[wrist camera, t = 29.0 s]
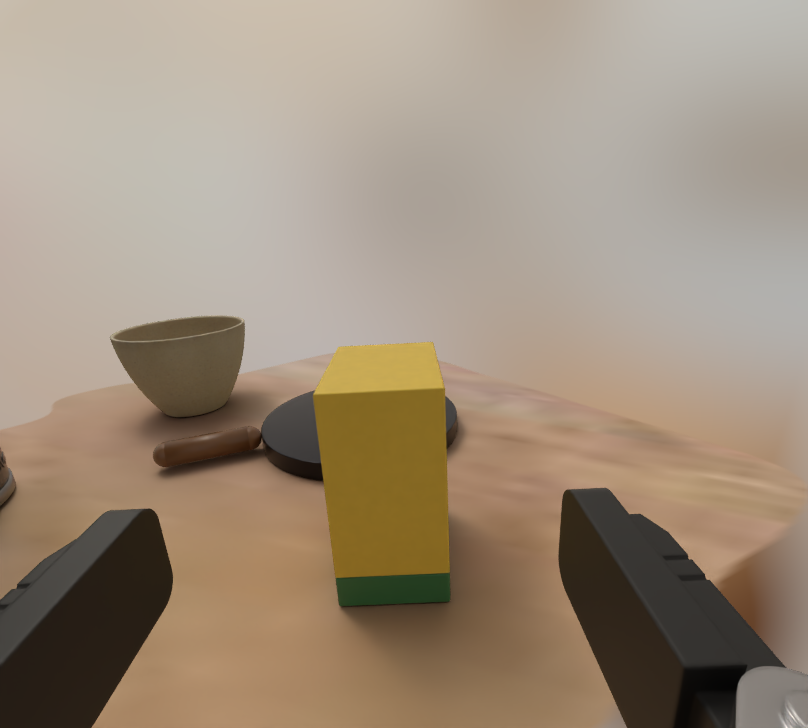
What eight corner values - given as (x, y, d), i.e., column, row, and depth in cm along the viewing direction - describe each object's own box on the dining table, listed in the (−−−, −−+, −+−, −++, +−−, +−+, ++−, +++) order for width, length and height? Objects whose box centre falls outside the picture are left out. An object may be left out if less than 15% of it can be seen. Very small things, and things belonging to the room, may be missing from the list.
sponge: (338, 607, 17) (312, 394, 14) (354, 512, 23) (338, 346, 20) (450, 602, 17) (445, 387, 14) (438, 508, 23) (433, 341, 20)
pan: (133, 539, 22) (125, 508, 21) (171, 427, 34) (166, 406, 34) (494, 450, 28) (495, 425, 28) (414, 384, 41) (414, 365, 40)
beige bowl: (263, 413, 36) (249, 328, 34) (123, 442, 32) (97, 349, 30) (250, 379, 45) (239, 309, 43) (139, 398, 41) (120, 323, 39)
